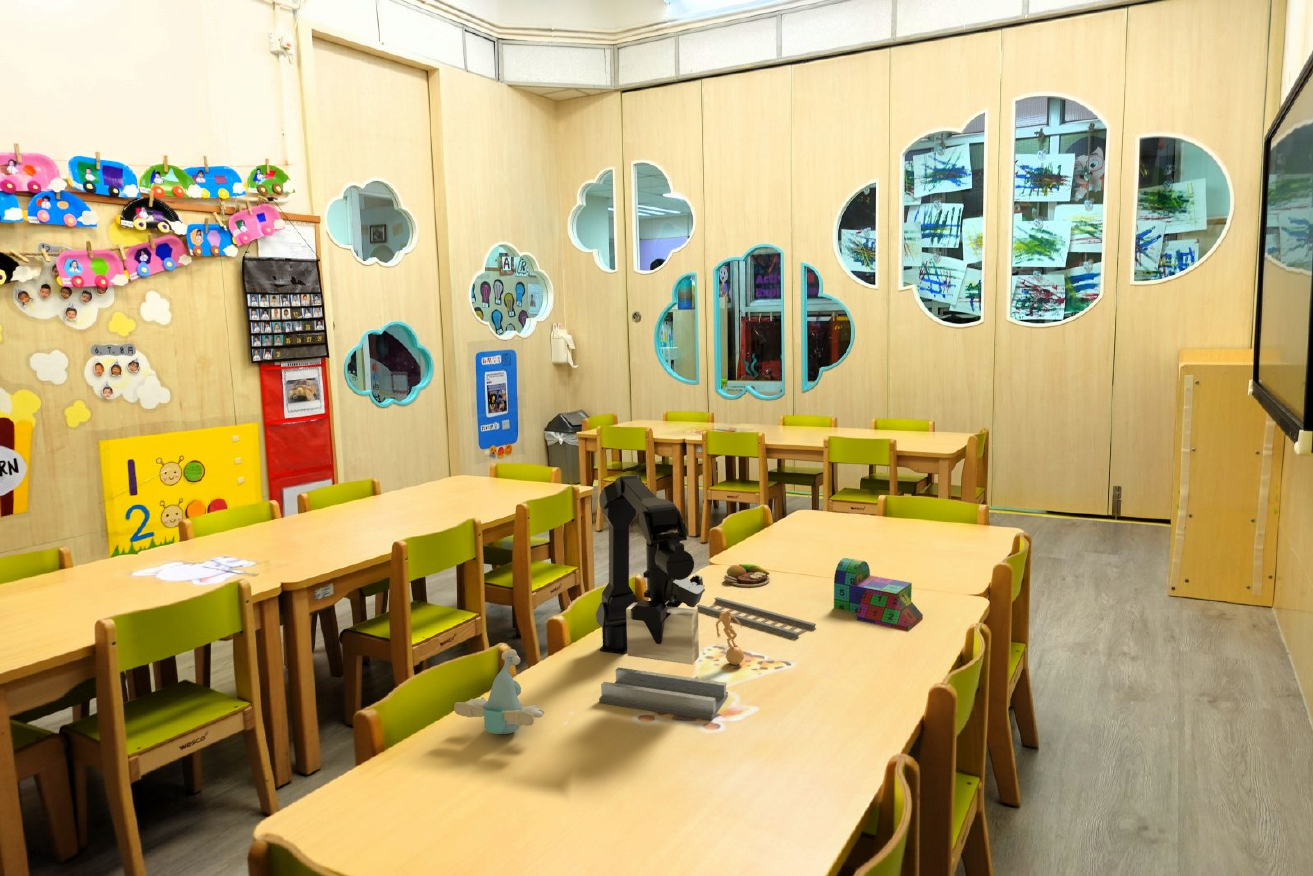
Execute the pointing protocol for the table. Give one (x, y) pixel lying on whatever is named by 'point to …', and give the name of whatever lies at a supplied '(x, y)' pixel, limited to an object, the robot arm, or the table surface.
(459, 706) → the toy figure
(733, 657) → the figurine
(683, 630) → the door panel
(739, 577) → the toy food set
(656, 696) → the floor track
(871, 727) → the table surface
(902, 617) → the toy train engine
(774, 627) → the model train track
